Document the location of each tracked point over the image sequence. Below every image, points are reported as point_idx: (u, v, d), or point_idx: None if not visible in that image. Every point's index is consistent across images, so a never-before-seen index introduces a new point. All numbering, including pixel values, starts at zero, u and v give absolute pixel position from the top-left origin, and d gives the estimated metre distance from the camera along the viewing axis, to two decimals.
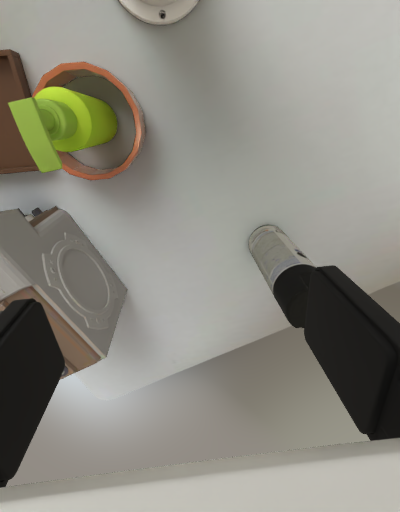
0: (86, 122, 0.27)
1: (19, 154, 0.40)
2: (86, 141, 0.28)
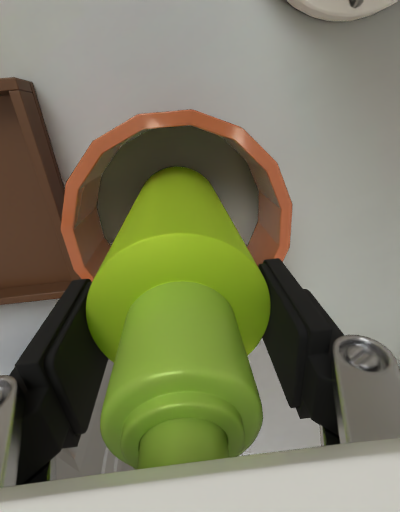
0: (257, 322, 0.09)
1: (30, 266, 0.21)
2: None
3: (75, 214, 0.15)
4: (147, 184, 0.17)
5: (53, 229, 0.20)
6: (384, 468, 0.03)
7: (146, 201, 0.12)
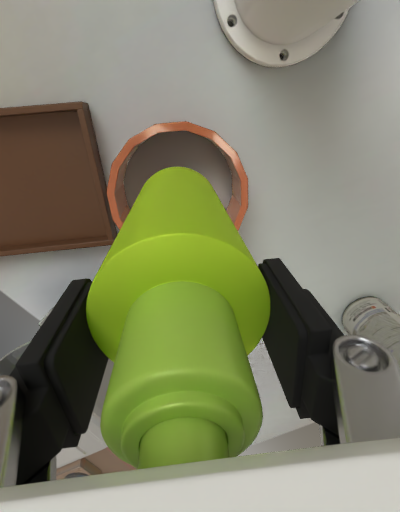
0: (257, 321, 0.09)
1: (77, 225, 0.31)
2: None
3: (116, 183, 0.25)
4: (147, 184, 0.17)
5: (94, 198, 0.30)
6: (384, 468, 0.03)
7: (146, 201, 0.12)
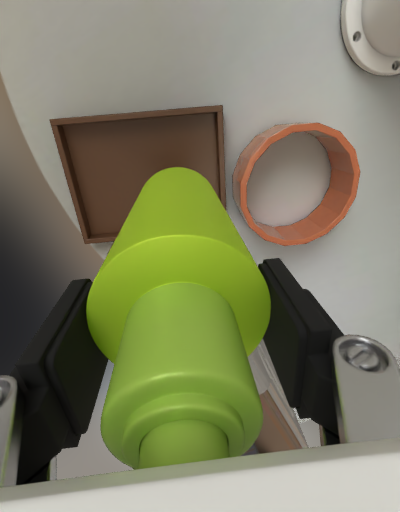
0: (257, 323, 0.09)
1: None
2: None
3: (249, 176, 0.30)
4: (147, 185, 0.17)
5: None
6: (384, 468, 0.03)
7: (146, 202, 0.12)
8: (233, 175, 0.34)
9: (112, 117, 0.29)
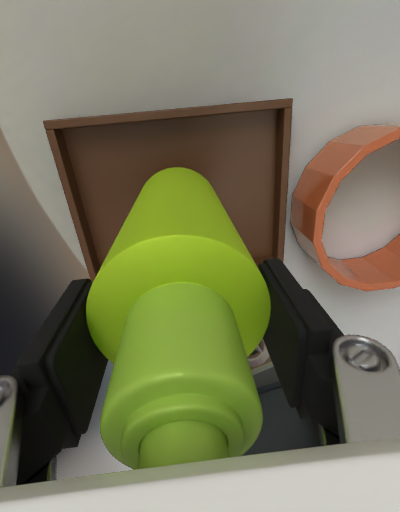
0: (257, 323, 0.09)
1: None
2: None
3: (330, 200, 0.21)
4: (147, 185, 0.17)
5: (264, 214, 0.25)
6: (384, 468, 0.03)
7: (146, 202, 0.12)
8: (295, 195, 0.25)
9: (134, 117, 0.20)
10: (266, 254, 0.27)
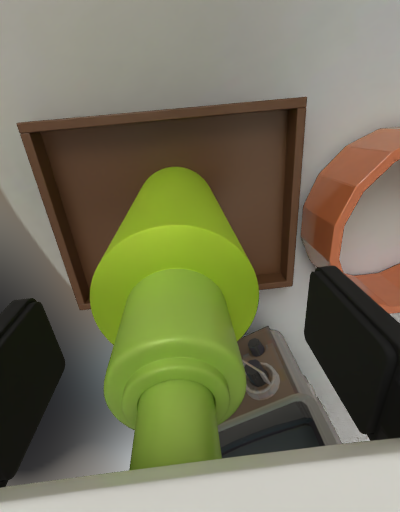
0: (246, 307, 0.10)
1: None
2: None
3: (350, 213, 0.18)
4: (146, 183, 0.17)
5: (271, 227, 0.23)
6: (384, 468, 0.03)
7: (145, 198, 0.13)
8: (306, 206, 0.22)
9: (123, 118, 0.17)
10: (273, 271, 0.25)
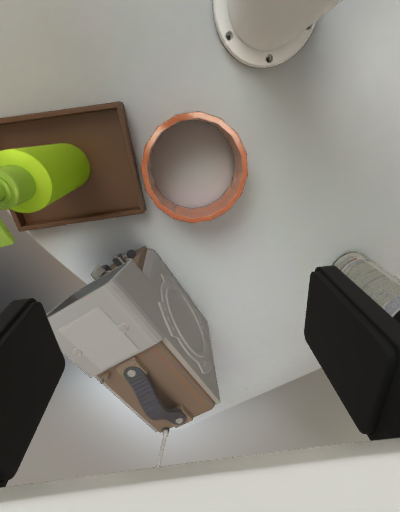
0: (45, 183, 0.26)
1: (114, 199, 0.40)
2: (47, 201, 0.27)
3: (148, 161, 0.34)
4: None
5: (128, 177, 0.39)
6: (384, 468, 0.03)
7: None
8: None
9: (25, 117, 0.33)
10: (136, 206, 0.41)
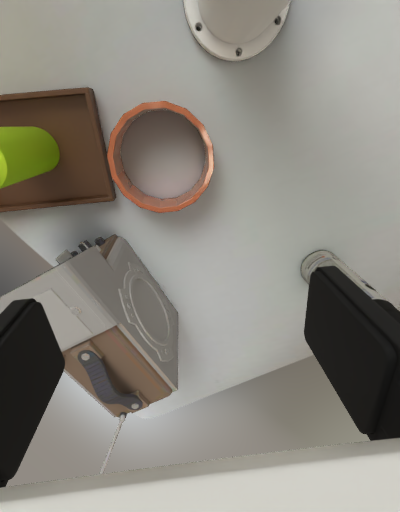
0: (0, 163, 0.26)
1: (84, 186, 0.40)
2: (3, 182, 0.27)
3: (114, 148, 0.34)
4: None
5: (97, 164, 0.39)
6: (384, 468, 0.03)
7: None
8: None
9: None
10: (106, 193, 0.41)
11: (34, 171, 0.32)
